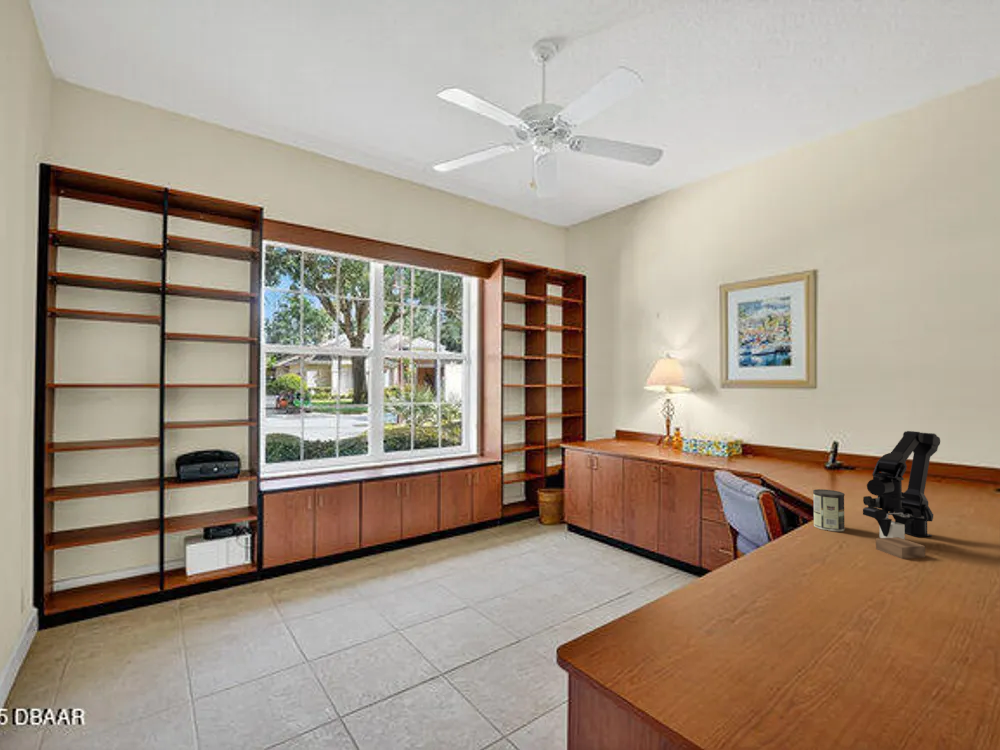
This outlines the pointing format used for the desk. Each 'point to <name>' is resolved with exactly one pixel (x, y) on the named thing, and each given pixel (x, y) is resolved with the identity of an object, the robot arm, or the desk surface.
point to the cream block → (894, 530)
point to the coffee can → (829, 510)
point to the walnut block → (900, 547)
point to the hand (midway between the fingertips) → (891, 535)
